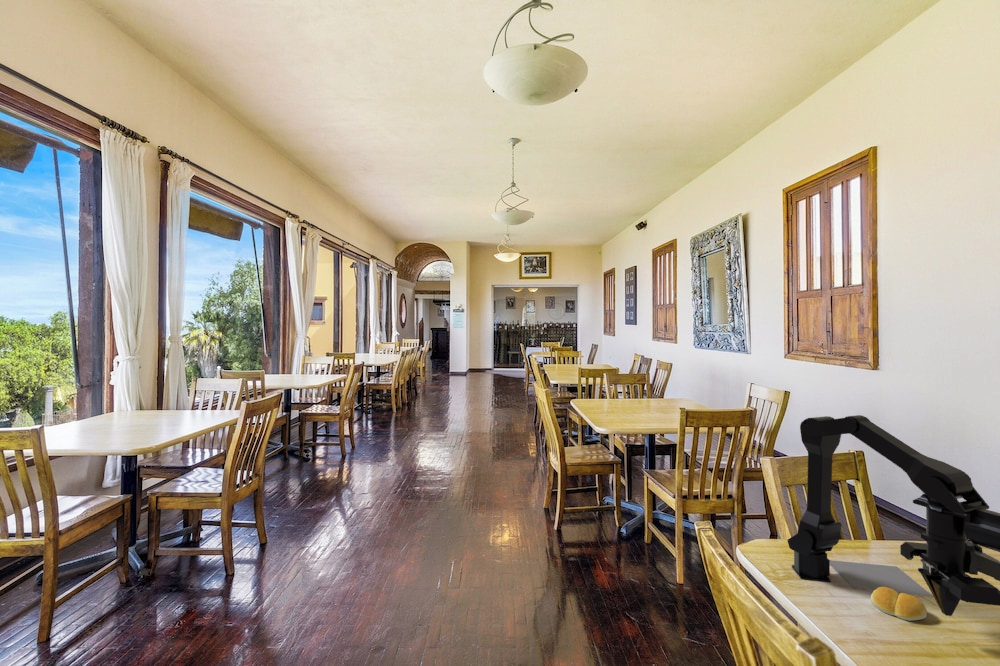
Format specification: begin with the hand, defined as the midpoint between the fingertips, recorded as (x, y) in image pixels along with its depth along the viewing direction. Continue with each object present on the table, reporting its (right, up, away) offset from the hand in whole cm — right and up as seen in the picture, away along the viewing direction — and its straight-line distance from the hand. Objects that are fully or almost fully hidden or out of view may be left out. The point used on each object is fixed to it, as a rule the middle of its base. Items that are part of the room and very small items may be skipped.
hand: (947, 614), depth 90 cm
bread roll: (+3, -6, +10) cm, 12 cm away
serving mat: (+6, -6, +24) cm, 26 cm away
